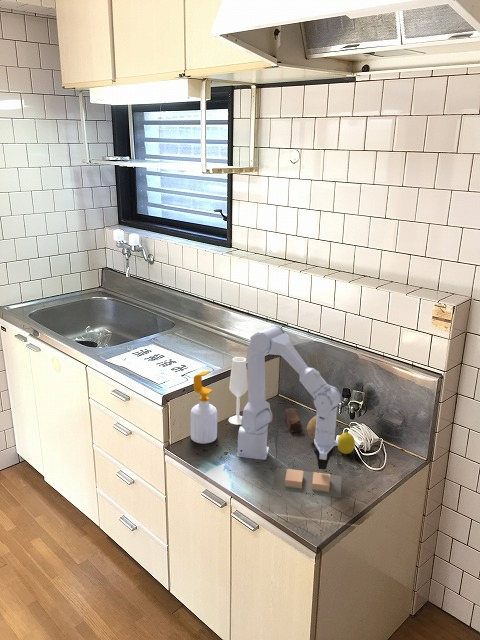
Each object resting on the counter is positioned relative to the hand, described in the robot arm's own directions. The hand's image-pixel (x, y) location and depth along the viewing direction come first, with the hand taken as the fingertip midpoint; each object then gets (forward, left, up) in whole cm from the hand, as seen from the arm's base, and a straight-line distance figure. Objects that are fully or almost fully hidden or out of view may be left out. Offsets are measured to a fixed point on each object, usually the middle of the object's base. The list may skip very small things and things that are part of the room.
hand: (322, 467), depth 168 cm
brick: (-12, +32, -5) cm, 35 cm away
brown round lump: (-2, +23, -5) cm, 24 cm away
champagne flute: (-32, +32, -5) cm, 45 cm away
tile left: (-8, 0, -3) cm, 8 cm away
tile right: (0, 0, -3) cm, 3 cm away
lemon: (+7, +17, -5) cm, 19 cm away
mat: (-4, -2, -4) cm, 6 cm away
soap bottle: (-41, +17, -5) cm, 45 cm away
